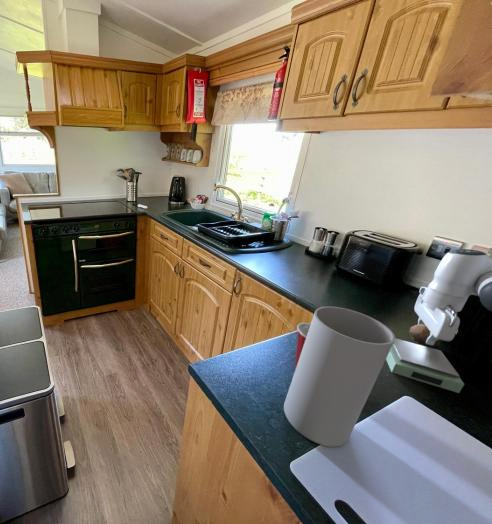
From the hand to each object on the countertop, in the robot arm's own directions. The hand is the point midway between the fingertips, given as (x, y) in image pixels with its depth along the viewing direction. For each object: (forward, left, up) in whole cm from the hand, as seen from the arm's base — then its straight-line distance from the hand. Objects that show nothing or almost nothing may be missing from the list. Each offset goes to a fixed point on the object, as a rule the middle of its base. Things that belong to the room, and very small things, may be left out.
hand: (424, 337), depth 94 cm
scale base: (+6, +17, -2) cm, 18 cm away
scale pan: (+6, +17, +1) cm, 18 cm away
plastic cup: (+34, +36, -2) cm, 50 cm away
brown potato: (0, 0, -2) cm, 2 cm away
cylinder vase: (+33, +54, -2) cm, 63 cm away
